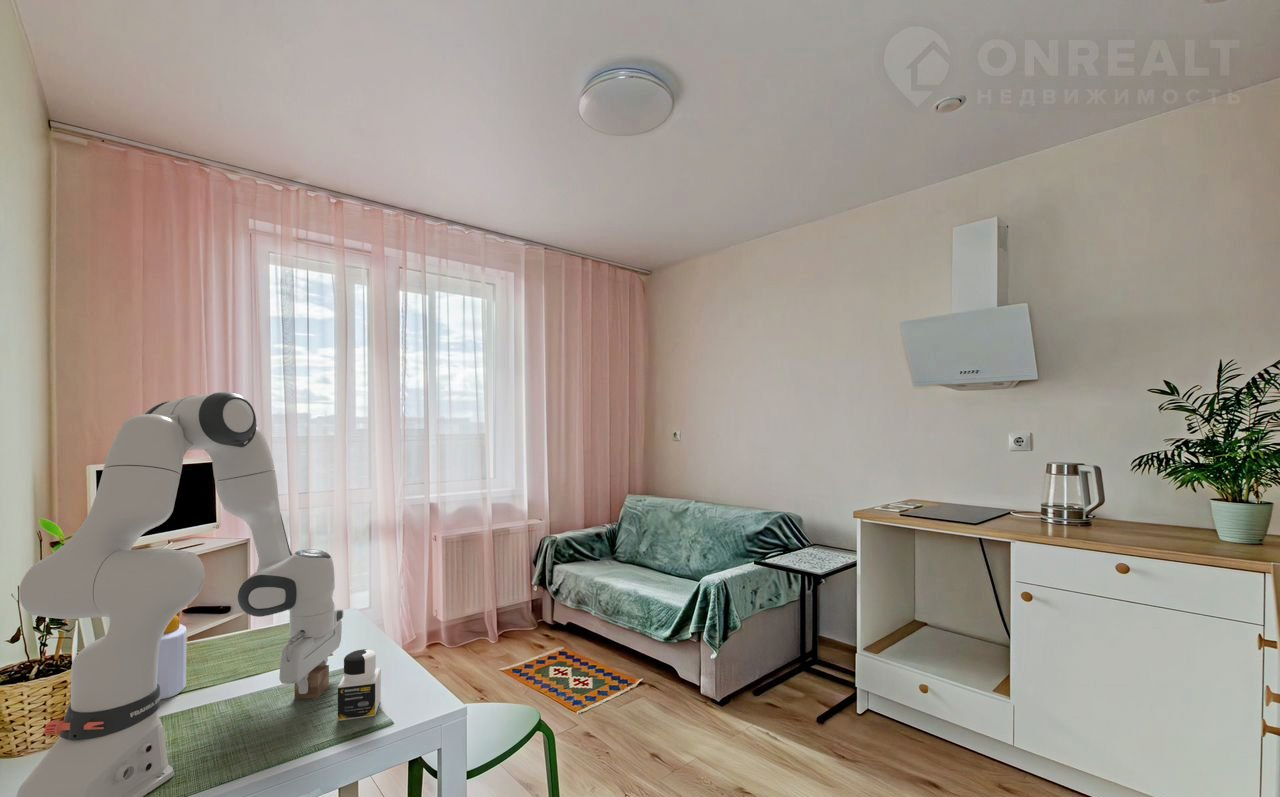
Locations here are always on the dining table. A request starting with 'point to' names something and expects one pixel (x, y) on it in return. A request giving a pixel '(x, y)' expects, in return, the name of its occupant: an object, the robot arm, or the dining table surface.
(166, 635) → the soap bottle
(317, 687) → the walnut cube
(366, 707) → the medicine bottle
